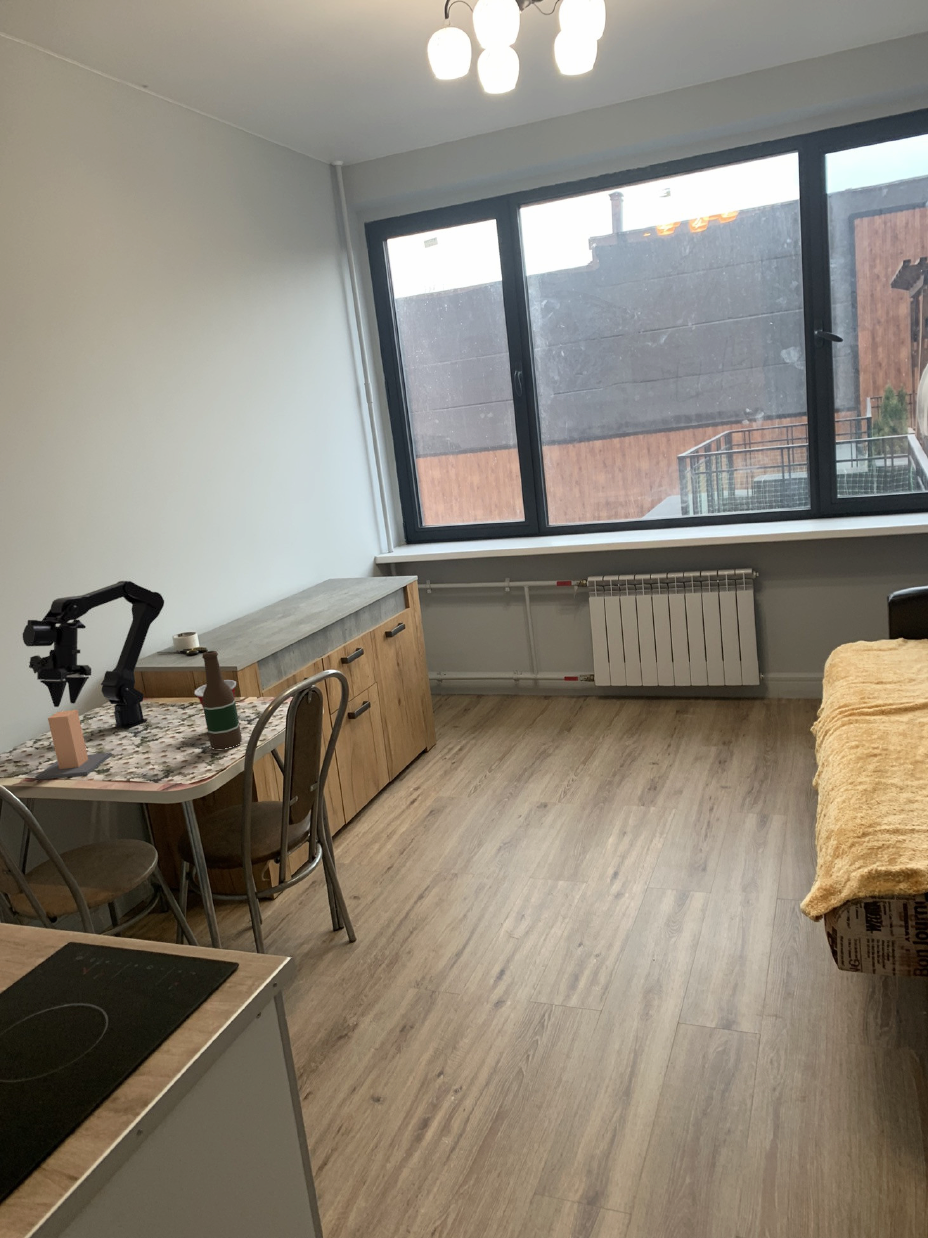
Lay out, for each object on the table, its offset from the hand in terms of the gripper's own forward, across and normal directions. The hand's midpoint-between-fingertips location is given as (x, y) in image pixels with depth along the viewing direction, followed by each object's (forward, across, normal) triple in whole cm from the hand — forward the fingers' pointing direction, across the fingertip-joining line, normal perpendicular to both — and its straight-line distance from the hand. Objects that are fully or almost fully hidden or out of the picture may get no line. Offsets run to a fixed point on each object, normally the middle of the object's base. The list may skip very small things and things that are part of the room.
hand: (64, 705), depth 245 cm
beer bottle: (+8, +12, +47) cm, 49 cm away
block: (+13, +16, +10) cm, 23 cm away
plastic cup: (+6, -1, +42) cm, 42 cm away
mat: (+14, +16, +10) cm, 23 cm away
